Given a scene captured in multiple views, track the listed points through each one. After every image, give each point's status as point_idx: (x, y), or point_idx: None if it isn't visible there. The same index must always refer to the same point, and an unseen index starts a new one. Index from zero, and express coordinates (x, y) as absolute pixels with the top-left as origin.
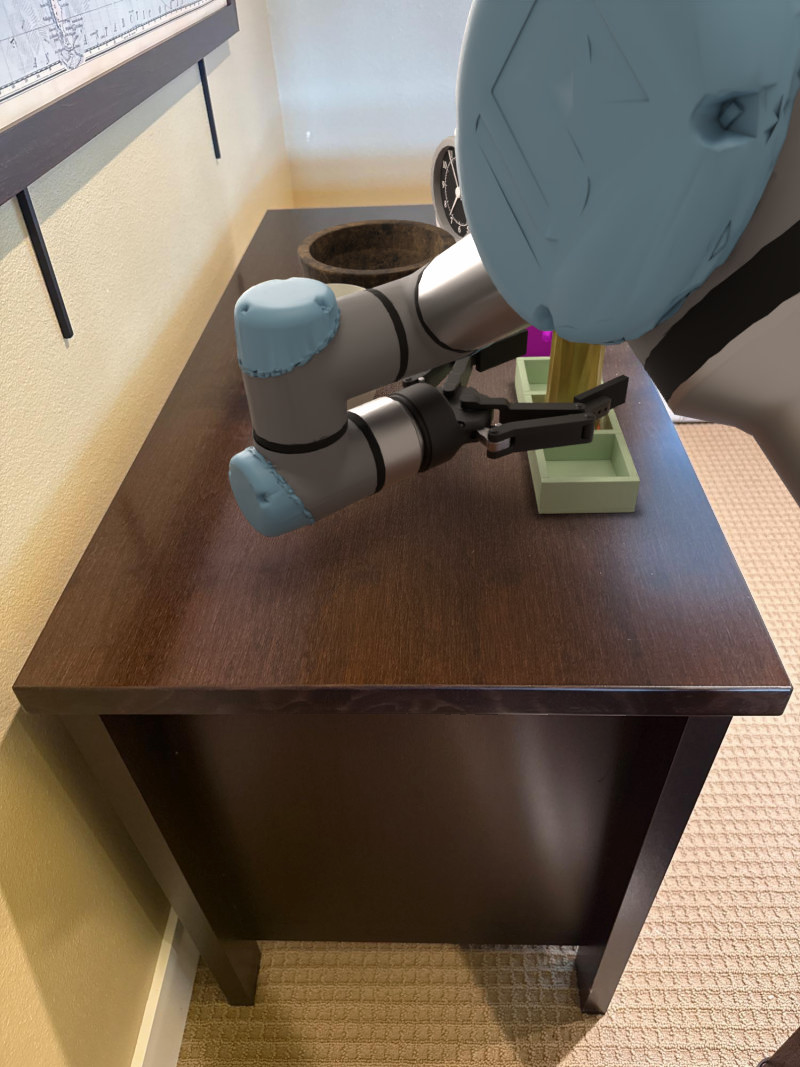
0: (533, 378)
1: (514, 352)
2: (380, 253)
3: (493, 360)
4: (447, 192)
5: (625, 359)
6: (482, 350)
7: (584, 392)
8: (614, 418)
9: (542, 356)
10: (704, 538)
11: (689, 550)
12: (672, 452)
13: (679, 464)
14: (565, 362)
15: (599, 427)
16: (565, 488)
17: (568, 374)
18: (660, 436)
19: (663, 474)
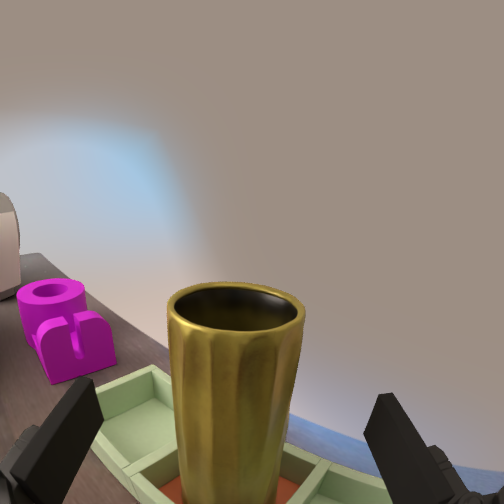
0: None
1: (87, 433)
2: None
3: (63, 477)
4: None
5: (161, 352)
6: (31, 481)
7: (427, 476)
8: (292, 448)
9: (81, 375)
10: (474, 476)
11: (487, 493)
12: (332, 433)
13: (356, 440)
14: (250, 434)
15: None
16: None
17: (259, 449)
18: (297, 424)
19: (366, 462)
